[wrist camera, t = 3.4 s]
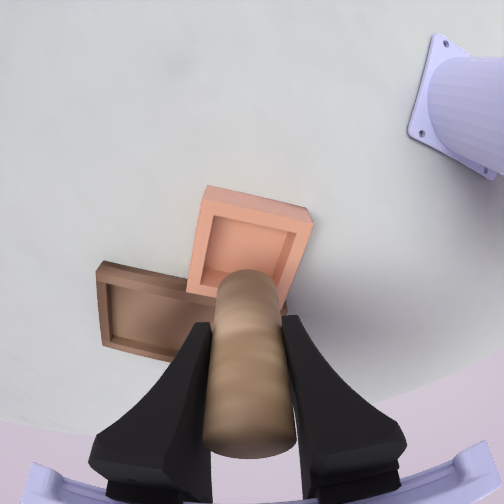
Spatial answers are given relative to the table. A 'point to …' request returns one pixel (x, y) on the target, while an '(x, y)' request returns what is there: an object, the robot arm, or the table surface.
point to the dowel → (248, 372)
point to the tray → (148, 311)
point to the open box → (246, 240)
